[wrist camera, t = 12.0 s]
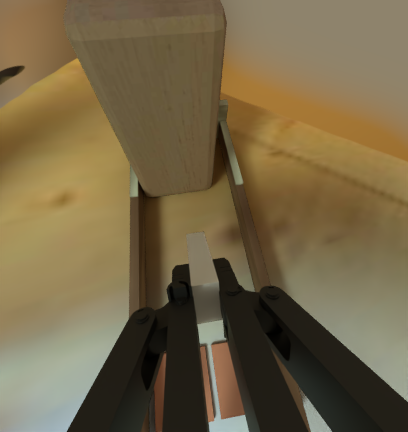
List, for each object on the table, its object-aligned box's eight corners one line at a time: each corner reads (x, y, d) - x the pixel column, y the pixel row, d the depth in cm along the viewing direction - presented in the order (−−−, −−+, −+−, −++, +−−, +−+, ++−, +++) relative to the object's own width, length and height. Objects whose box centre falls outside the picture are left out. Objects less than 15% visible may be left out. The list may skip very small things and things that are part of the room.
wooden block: (201, 142, 34) (202, -50, 16) (212, 191, 30) (232, 8, 11) (142, 149, 33) (71, -45, 15) (146, 201, 29) (52, 19, 11)
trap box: (138, 449, 18) (111, 512, 12) (136, 140, 34) (124, 108, 28) (295, 416, 19) (333, 460, 14) (222, 131, 35) (226, 99, 29)
